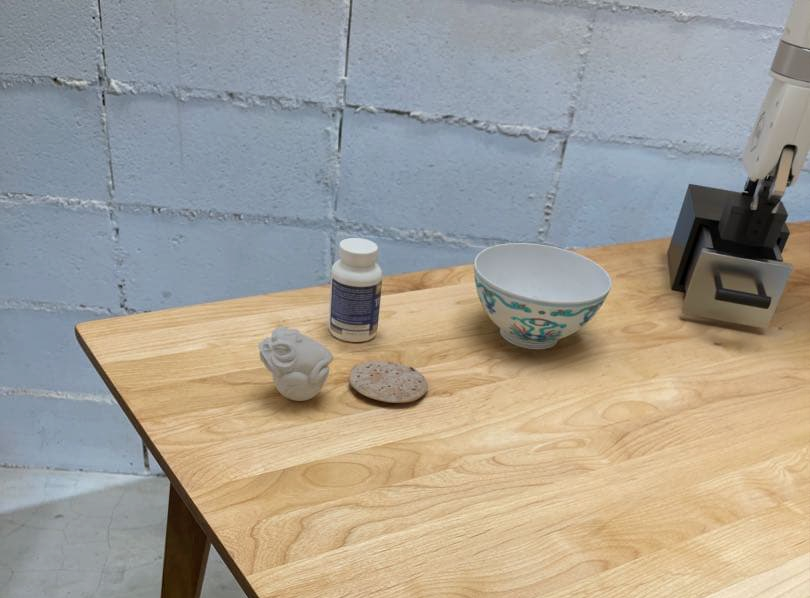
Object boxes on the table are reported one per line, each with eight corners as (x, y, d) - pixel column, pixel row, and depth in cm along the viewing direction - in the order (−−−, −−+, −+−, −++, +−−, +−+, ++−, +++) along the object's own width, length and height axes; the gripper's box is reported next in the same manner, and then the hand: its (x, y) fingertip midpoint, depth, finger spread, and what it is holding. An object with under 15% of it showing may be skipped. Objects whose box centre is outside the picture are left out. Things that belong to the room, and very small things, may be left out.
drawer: (772, 347, 98) (800, 284, 93) (683, 331, 99) (706, 267, 94) (755, 289, 111) (778, 230, 106) (676, 274, 112) (696, 216, 106)
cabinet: (760, 306, 109) (790, 233, 103) (671, 289, 110) (695, 216, 104) (748, 267, 119) (775, 198, 113) (667, 252, 120) (689, 183, 113)
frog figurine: (256, 381, 83) (255, 315, 78) (327, 379, 84) (330, 315, 79) (261, 415, 78) (260, 348, 74) (336, 413, 80) (339, 347, 75)
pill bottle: (382, 343, 91) (390, 256, 85) (333, 344, 90) (338, 256, 83) (371, 319, 95) (378, 234, 88) (324, 320, 93) (328, 234, 87)
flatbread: (438, 381, 86) (439, 372, 85) (408, 415, 80) (409, 406, 80) (367, 358, 88) (368, 350, 87) (333, 390, 82) (334, 381, 82)
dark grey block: (769, 234, 102) (782, 201, 99) (774, 249, 99) (788, 214, 96) (716, 225, 103) (728, 192, 100) (720, 239, 99) (732, 205, 96)
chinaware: (610, 330, 99) (628, 267, 94) (568, 383, 89) (586, 316, 83) (494, 293, 103) (505, 231, 98) (442, 340, 93) (451, 273, 88)
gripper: (763, 44, 95) (708, 206, 107) (785, 77, 82) (721, 257, 94) (830, 55, 95) (768, 217, 107) (863, 89, 82) (788, 268, 94)
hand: (746, 234), depth 100 cm, fingers closed on dark grey block, 4 cm apart
